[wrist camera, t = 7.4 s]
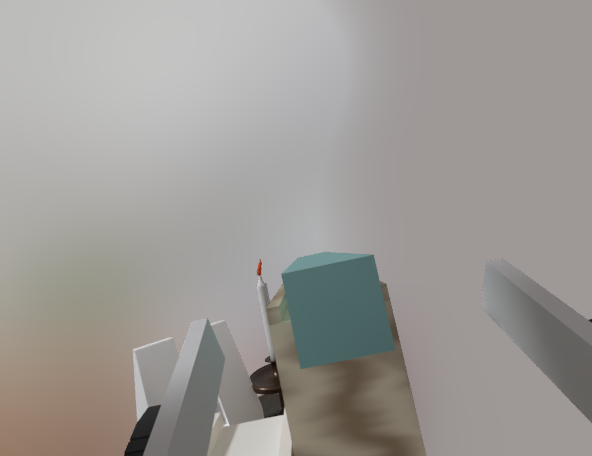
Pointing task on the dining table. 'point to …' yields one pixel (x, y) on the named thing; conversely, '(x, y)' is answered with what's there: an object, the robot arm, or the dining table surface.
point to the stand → (345, 397)
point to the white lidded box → (251, 438)
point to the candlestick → (268, 375)
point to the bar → (336, 308)
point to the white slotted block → (233, 389)
